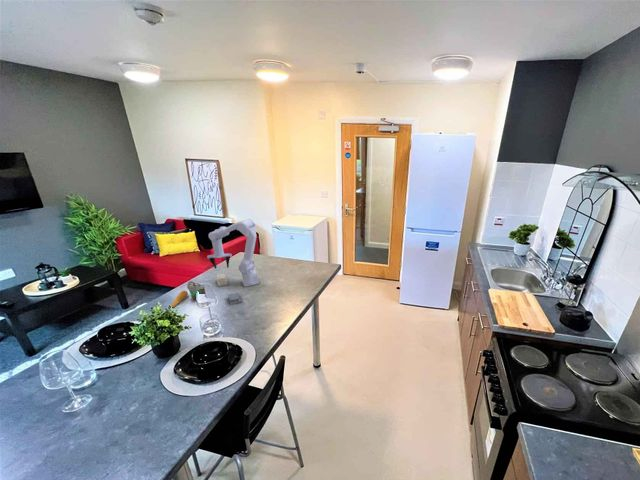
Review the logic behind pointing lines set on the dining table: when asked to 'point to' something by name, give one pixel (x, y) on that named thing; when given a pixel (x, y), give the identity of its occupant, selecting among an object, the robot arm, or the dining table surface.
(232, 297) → the grey stack
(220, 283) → the cream stack
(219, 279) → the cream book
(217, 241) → the robot arm
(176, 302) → the carrot
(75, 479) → the dining table surface
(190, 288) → the food container
